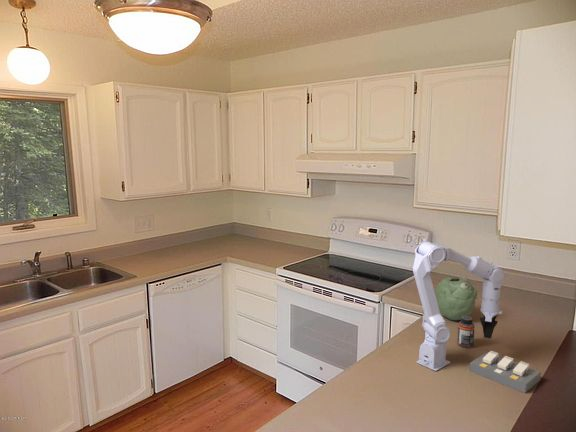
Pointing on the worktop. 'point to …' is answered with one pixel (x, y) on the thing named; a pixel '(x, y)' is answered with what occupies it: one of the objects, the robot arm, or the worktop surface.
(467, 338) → the supplement bottle
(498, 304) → the robot arm
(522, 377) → the switch box
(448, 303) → the cabbage
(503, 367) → the rocker
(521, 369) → the rocker
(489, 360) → the rocker
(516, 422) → the worktop surface
